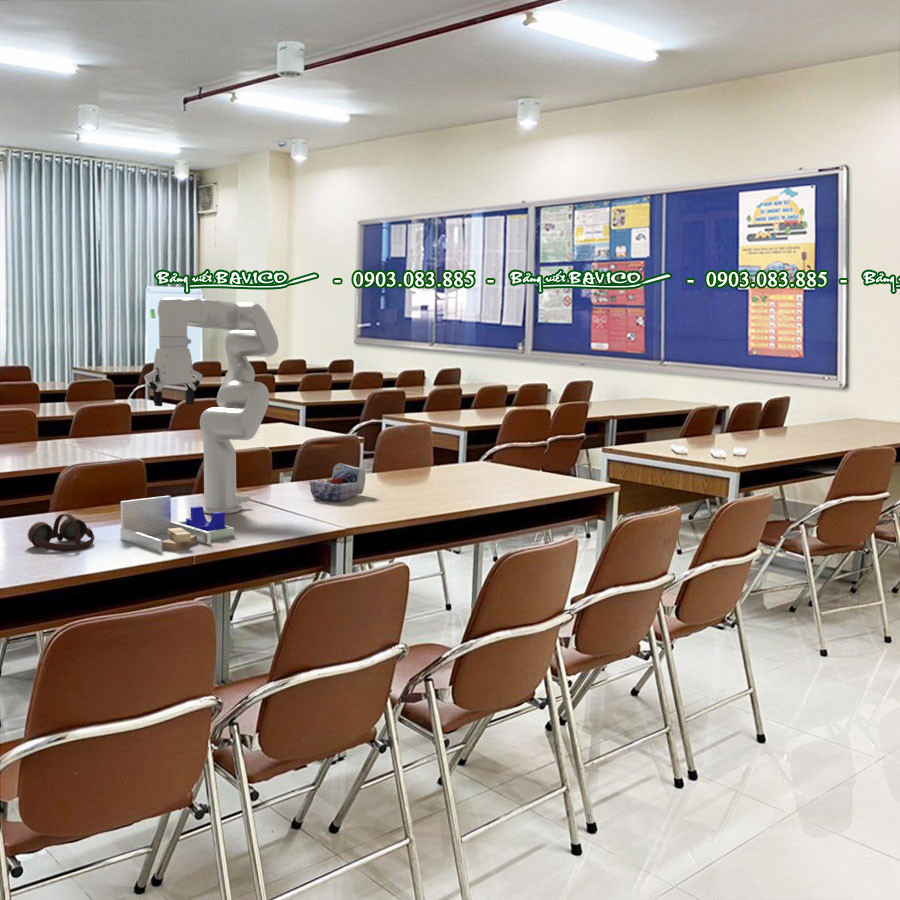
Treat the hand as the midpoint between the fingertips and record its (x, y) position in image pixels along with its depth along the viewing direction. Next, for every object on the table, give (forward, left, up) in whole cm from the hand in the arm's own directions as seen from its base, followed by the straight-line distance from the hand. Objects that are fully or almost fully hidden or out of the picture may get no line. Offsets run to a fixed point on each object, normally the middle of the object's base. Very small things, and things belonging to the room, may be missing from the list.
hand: (174, 405), depth 284 cm
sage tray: (0, +14, -34) cm, 37 cm away
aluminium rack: (+12, +15, -34) cm, 39 cm away
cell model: (-64, -7, -35) cm, 73 cm away
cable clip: (-1, +14, -34) cm, 37 cm away
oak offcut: (+12, +23, -32) cm, 41 cm away
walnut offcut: (+12, +23, -35) cm, 43 cm away
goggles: (+34, +4, -35) cm, 49 cm away
